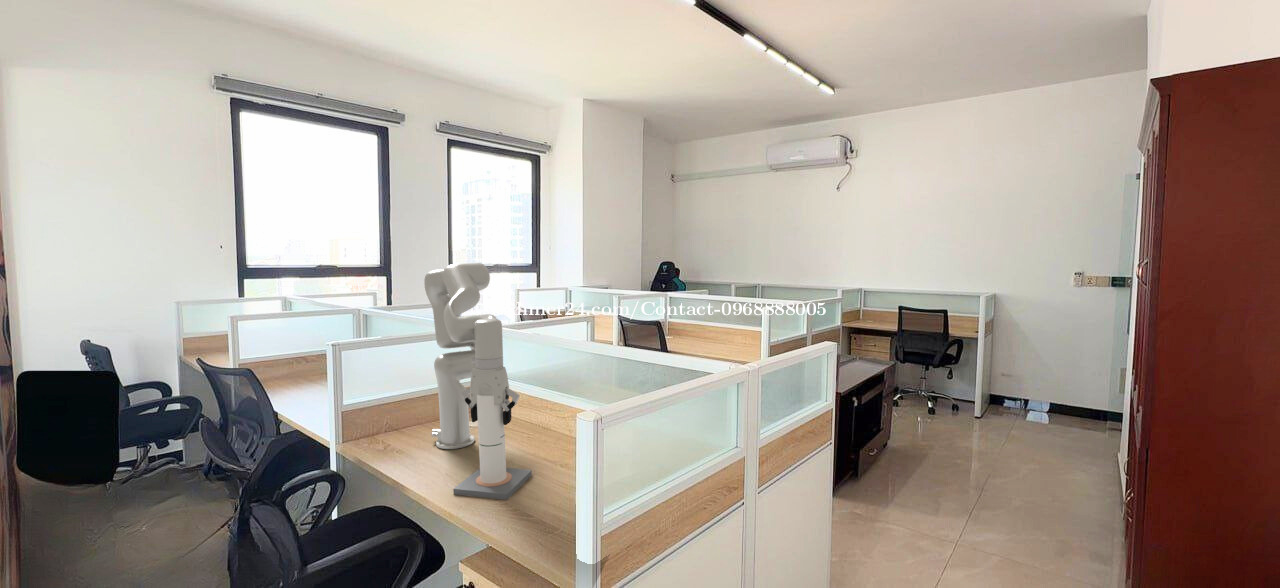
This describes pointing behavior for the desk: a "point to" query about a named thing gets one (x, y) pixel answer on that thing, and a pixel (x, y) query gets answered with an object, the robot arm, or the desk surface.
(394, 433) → the desk surface
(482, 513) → the desk surface
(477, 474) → the board
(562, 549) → the desk surface
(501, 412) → the cylindrical container
